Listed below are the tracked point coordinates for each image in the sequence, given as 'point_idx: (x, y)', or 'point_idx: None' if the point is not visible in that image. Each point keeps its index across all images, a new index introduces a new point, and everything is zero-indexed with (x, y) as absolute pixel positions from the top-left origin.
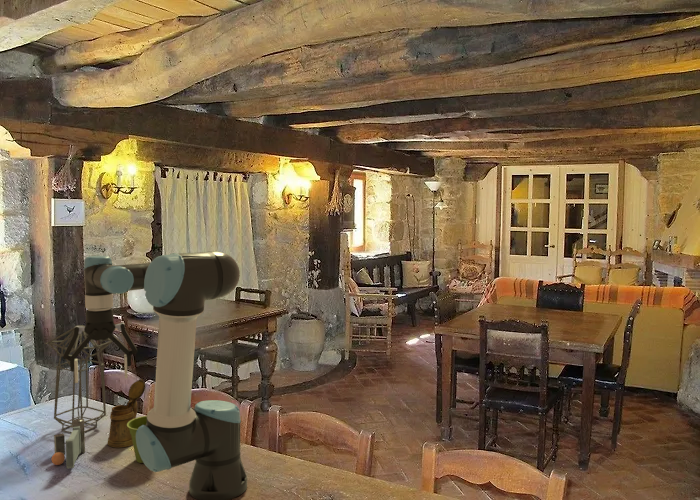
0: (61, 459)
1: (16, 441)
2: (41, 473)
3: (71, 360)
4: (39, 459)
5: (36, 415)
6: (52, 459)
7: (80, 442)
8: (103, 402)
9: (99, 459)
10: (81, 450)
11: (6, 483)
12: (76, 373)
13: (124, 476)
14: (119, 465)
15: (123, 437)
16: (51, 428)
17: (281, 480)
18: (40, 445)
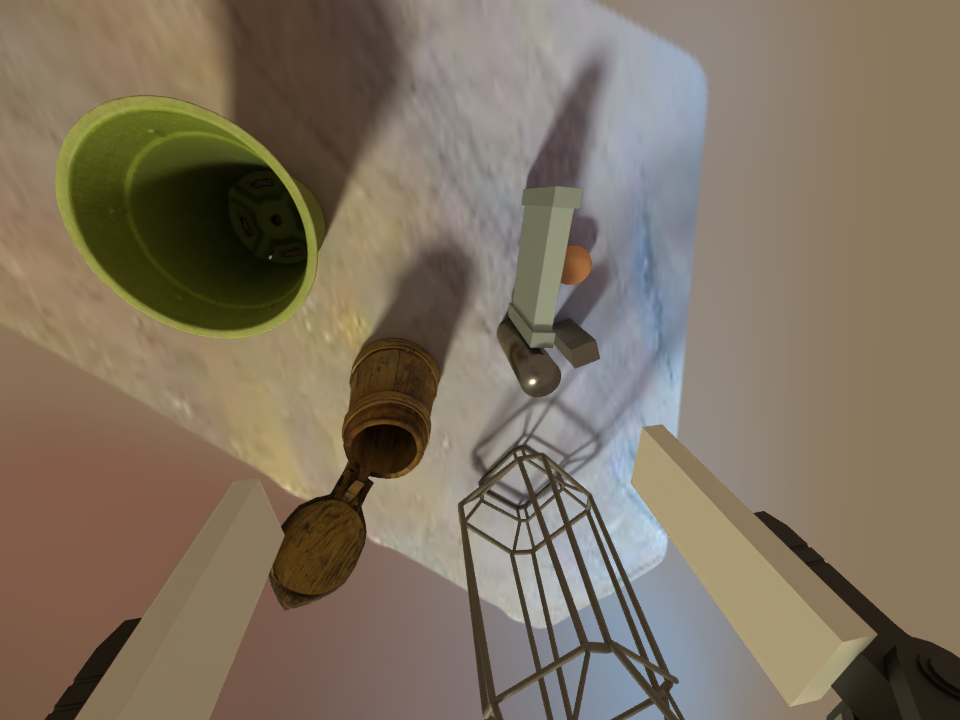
0: None
1: None
2: (608, 207)
3: (920, 645)
4: (611, 312)
5: (610, 552)
6: (588, 253)
7: (516, 321)
8: (467, 538)
9: (450, 266)
10: (507, 324)
11: (699, 161)
12: (707, 486)
13: (341, 75)
14: (377, 194)
15: (384, 357)
16: None
17: None
18: (606, 400)
